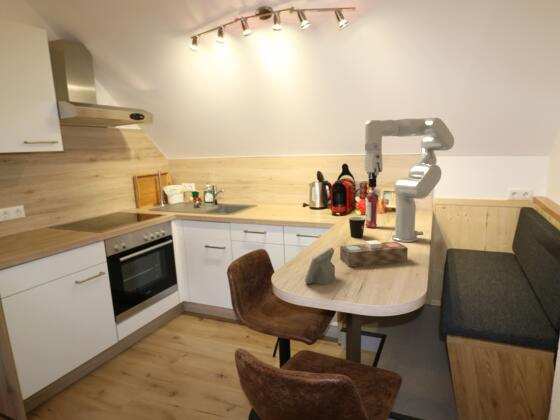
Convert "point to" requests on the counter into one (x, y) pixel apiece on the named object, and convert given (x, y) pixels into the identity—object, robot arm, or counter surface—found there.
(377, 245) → the white key
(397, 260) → the frame
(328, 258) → the grey rock
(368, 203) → the liquor
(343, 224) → the counter surface
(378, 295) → the counter surface
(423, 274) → the counter surface
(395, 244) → the pink block
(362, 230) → the coffee mug
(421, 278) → the counter surface
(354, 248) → the blue key
